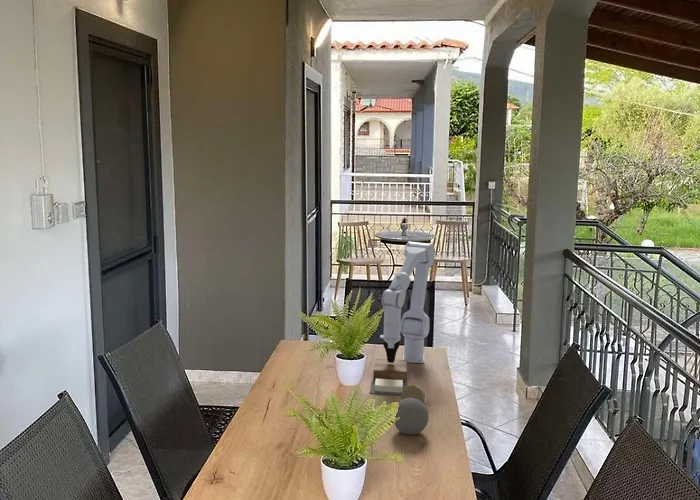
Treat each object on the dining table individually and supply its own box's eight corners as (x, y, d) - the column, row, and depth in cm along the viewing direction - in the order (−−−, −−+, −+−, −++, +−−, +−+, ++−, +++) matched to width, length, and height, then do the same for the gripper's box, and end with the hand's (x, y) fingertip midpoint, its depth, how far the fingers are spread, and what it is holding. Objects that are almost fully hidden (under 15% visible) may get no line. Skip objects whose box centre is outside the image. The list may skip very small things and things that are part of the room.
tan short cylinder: (429, 399, 208) (433, 379, 201) (417, 421, 201) (420, 401, 194) (407, 390, 210) (410, 369, 204) (395, 411, 203) (397, 391, 197)
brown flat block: (375, 369, 233) (375, 358, 232) (406, 371, 232) (406, 360, 231) (373, 381, 221) (373, 370, 220) (405, 383, 220) (406, 372, 219)
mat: (371, 381, 221) (371, 380, 221) (407, 383, 220) (407, 382, 220) (369, 393, 210) (369, 392, 210) (407, 395, 209) (407, 395, 209)
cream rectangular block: (374, 385, 211) (374, 391, 212) (402, 386, 211) (402, 392, 211) (375, 378, 217) (375, 384, 218) (402, 380, 217) (402, 385, 217)
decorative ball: (405, 422, 190) (407, 389, 188) (434, 432, 183) (436, 399, 181) (384, 433, 182) (385, 399, 180) (414, 444, 176) (415, 409, 174)
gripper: (381, 317, 232) (380, 354, 234) (379, 329, 218) (378, 368, 220) (401, 318, 231) (400, 355, 233) (400, 330, 217) (399, 369, 219)
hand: (390, 362), depth 227 cm, fingers closed
